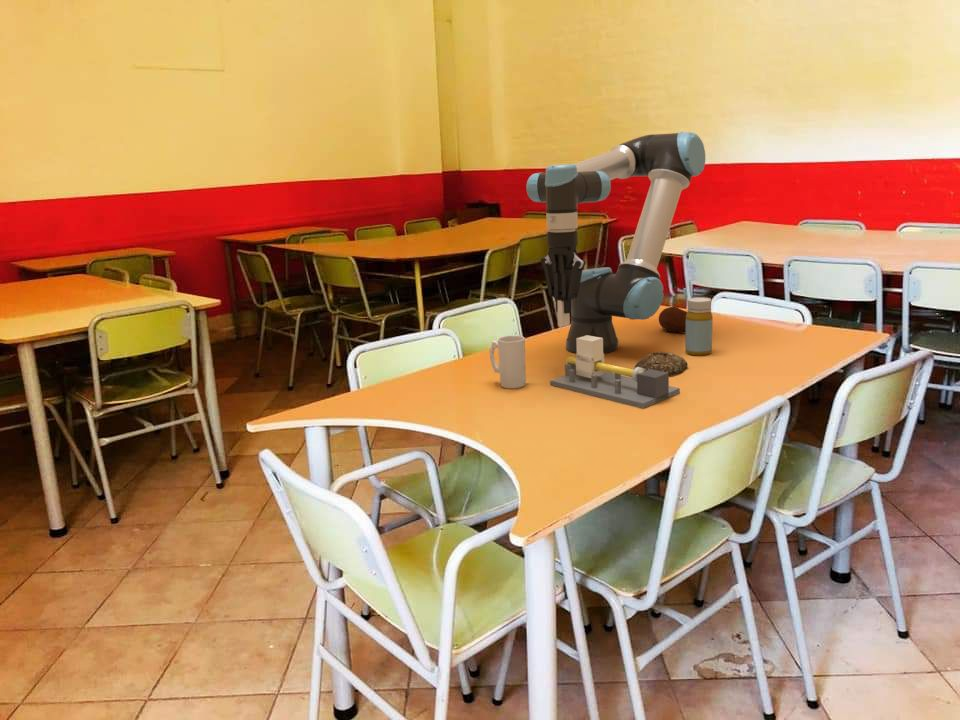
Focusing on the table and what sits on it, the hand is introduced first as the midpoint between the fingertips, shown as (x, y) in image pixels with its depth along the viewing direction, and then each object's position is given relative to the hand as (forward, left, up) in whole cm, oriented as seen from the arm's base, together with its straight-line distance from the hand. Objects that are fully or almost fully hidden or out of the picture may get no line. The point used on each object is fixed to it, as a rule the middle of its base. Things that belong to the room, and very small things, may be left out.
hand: (563, 325), depth 187 cm
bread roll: (+14, +21, -14) cm, 29 cm away
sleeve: (+8, 0, -11) cm, 14 cm away
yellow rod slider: (+15, 0, -14) cm, 20 cm away
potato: (-6, +57, -14) cm, 59 cm away
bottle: (+13, +40, -14) cm, 45 cm away
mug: (-8, -13, -14) cm, 21 cm away
